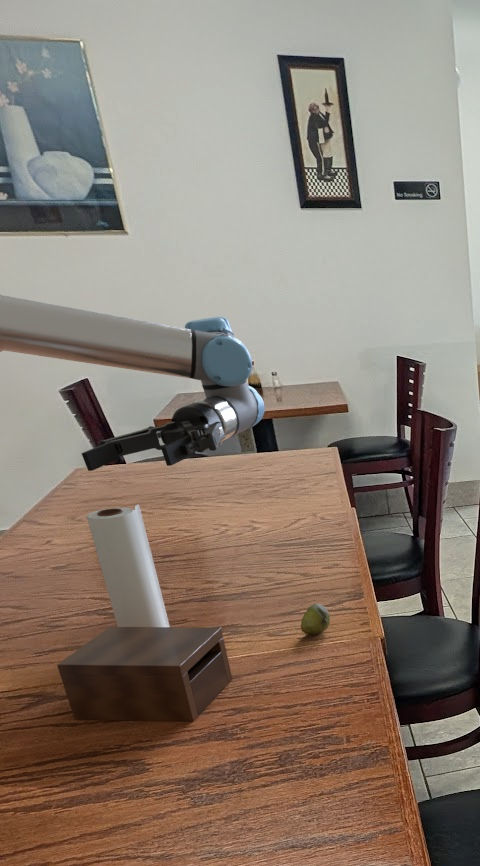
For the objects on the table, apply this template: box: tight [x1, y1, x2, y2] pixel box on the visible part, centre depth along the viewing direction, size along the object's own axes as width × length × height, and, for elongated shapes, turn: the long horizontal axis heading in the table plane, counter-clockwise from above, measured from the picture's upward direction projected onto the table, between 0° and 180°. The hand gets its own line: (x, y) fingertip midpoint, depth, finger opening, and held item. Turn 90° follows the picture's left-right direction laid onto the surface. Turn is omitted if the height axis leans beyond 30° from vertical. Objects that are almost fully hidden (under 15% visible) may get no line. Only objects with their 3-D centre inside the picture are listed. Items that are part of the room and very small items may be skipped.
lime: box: [300, 603, 331, 636], centre depth 129 cm, size 4×5×5 cm
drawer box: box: [56, 626, 233, 722], centre depth 110 cm, size 16×12×8 cm
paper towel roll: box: [86, 503, 171, 627], centre depth 123 cm, size 7×6×21 cm
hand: (125, 459), depth 122 cm, fingers open, 13 cm apart
